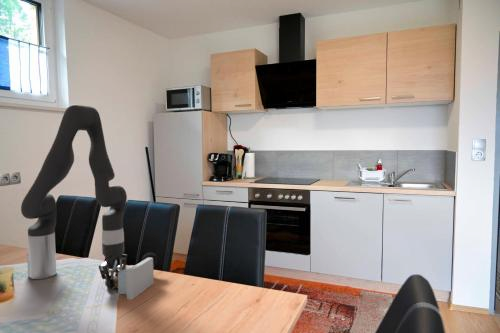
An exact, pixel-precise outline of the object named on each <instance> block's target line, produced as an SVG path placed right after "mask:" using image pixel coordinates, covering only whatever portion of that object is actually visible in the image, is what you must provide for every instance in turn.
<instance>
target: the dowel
mask: <svg viewBox="0 0 500 333" xmlns="http://www.w3.org/2000/svg"><path fill="white" fill-rule="evenodd" d="M113 279H114V288H115V289H118V276H115V275H114V276H113ZM104 280H105V281H104V283H105V284H104V285H105V287H106V288H107V279H104ZM114 288H113V289H114Z"/></svg>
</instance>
